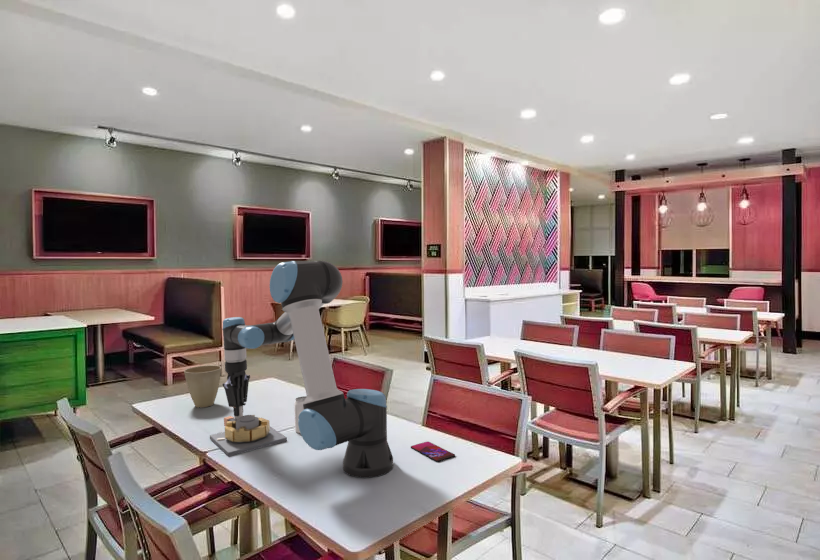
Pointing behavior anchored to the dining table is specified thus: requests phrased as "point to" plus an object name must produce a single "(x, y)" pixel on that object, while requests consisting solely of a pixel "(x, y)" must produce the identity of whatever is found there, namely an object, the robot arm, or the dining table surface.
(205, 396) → the plant pot
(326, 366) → the robot arm
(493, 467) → the dining table surface
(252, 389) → the dining table surface
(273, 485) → the dining table surface
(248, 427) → the base
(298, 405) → the can
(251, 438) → the ring nut
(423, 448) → the smartphone
